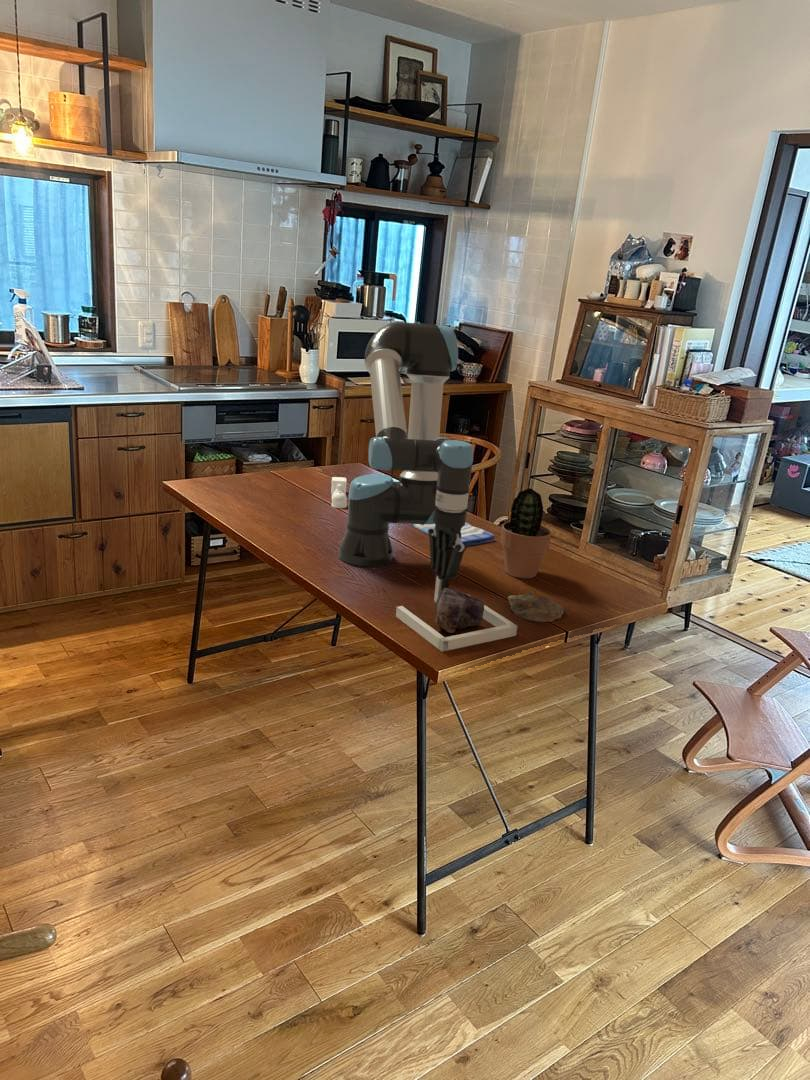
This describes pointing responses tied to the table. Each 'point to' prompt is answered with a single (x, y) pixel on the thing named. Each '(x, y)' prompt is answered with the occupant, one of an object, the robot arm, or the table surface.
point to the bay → (462, 640)
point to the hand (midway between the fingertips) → (440, 601)
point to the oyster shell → (535, 607)
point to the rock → (457, 610)
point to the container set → (339, 492)
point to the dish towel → (464, 533)
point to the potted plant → (525, 536)
